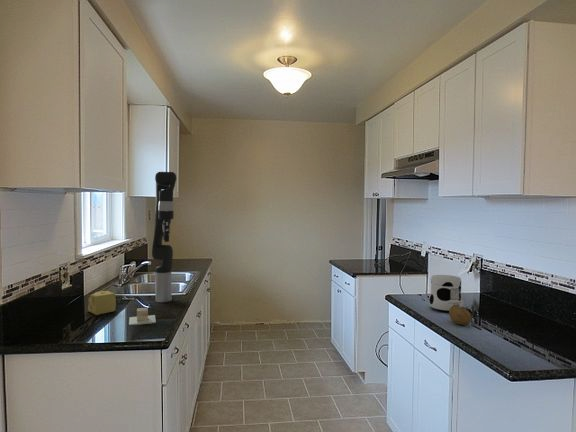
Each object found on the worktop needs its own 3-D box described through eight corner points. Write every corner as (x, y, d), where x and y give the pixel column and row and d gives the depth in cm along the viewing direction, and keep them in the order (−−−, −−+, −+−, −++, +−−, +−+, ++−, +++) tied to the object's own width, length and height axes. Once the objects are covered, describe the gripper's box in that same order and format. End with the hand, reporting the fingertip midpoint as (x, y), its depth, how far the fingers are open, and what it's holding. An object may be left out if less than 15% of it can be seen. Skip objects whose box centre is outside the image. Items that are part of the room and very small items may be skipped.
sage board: (129, 318, 197) (129, 317, 197) (154, 316, 201) (154, 315, 201) (129, 325, 186) (129, 324, 186) (155, 322, 190) (155, 321, 190)
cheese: (87, 311, 209) (87, 293, 209) (108, 307, 217) (108, 289, 217) (95, 315, 202) (95, 296, 202) (116, 311, 210) (116, 292, 210)
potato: (456, 328, 183) (457, 311, 183) (444, 319, 197) (444, 304, 197) (477, 328, 183) (477, 311, 183) (463, 319, 198) (463, 304, 197)
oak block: (136, 318, 195) (136, 308, 195) (147, 317, 197) (147, 307, 197) (136, 321, 190) (136, 311, 190) (147, 320, 192) (147, 310, 192)
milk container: (433, 304, 228) (434, 273, 228) (465, 309, 218) (466, 276, 218) (424, 310, 214) (425, 277, 214) (458, 316, 204) (459, 281, 204)
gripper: (157, 209, 211) (158, 240, 211) (159, 210, 198) (159, 242, 198) (172, 209, 213) (172, 239, 214) (174, 210, 200) (174, 242, 201)
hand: (166, 240), depth 206 cm, fingers open, 8 cm apart
